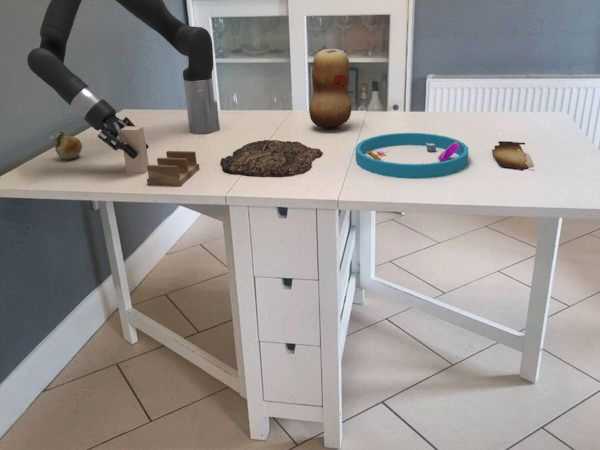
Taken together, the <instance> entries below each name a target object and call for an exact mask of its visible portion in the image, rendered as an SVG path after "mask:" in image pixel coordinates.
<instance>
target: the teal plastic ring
mask: <svg viewBox="0 0 600 450" xmlns="http://www.w3.org/2000/svg"><path fill="white" fill-rule="evenodd" d="M395 146H423V147H426V149H427V151H428V152H430V153H432V152H433V153H434V152H435V151H436V150H437V149H443V150H444V151H442V152H440V154H439V155H438V156H437V159H438V160H439V161H436V162H431V163H400V162H397V163H396V162H390V161H386V160H385V158H383V157H385V156H387V153H388V151H376V154H375V153H373V150H374V151H375V150H377V149H382V148H387V147H395ZM366 154H367V155H368V156H367V155H366ZM454 154H456V155H457V156H456V157H454V158H451V159H449V158H450V157H452V156H453V155H454ZM379 156H380V157H382V158H383V159H382V158H380V157H379ZM468 160H469V146H467V144H465V143H464V142H462V141H460V140H458V139H456V138H452V137H450V136H446V135H439V134H435V133H434V134H432V133H422V132H398V133H394V132H393V133H388V134H386V133H385V134H381V135H376V136H371V137H369V138H366V139H364V140H361V141H360V142H359V143H357V145H356V147H355V162H356V165H357V166H358V167H360V168H361V169H362V170H365V171H368V172H369V173H372V174H376V175H380V176H384V177H393V178H397V179H398V178H399V179H400V178H401V179H429V178H438V177H445V176H447V175H451V174H454V173H457V172H460V171H462V170H464V169H465V167H467V165H468Z"/></svg>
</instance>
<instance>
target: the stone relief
mask: <svg viewBox="0 0 600 450" xmlns="http://www.w3.org/2000/svg"><path fill="white" fill-rule="evenodd" d="M323 155H324V152H323V151H322V150H321V149H320V148H315V147H314V148H313V147H310V146H306V145H305V144H303V143H302V142H299V141H291V140H286V141H281V140H277V139H273V140H272V139H271V140H270V139H264V140H258V141H257V140H256V141H253V142H249V143H246V144H245V145H243V146H242V147H240V148H238V149H235V151H232V155H228V156H226V157H221V158H220V163H219V164H220V165H219V166H221V170H222V172H223V173H224V174H228V175H235V176H243V177H253V178H286V177H294V176H298V175H303V174H305V173H307V172H309V171H310V170H311V169H312V167H313V165H312V164H313V162H314V161H315V160H317V159H321V158H322V157H323Z"/></svg>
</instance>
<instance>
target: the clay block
mask: <svg viewBox="0 0 600 450" xmlns="http://www.w3.org/2000/svg"><path fill="white" fill-rule="evenodd" d="M120 131H121V132H122V133H123V135H124V139H125V140H126V142H127V144H129V145H130V146H132V147H133V148H134V149H135V150H136V151H137V152H138V155H137V156H136V158H134V159H132V158H131V157H130V156H129V155H128V154H126V153H125V152H124V151H123V150H122V151H123V157H124V164H125V168H126V173H127V174H143V175H144V174H146V173H148V170H147V166H148V165H150V164H149V155H148V149H146V144H147V143H146V136H145V130H144V126H136V127H132V126H126V127H124V128H122V129H120Z"/></svg>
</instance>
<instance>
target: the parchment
mask: <svg viewBox="0 0 600 450" xmlns="http://www.w3.org/2000/svg"><path fill="white" fill-rule="evenodd" d="M497 144H498V145H494V148H493V149H492V150H491V151H492V156H493V158H494V159H495V160H496V162H497V163H498V165H499V166H500V167H501V168H512V169H514V168H515V169H519V170H520V171H522V172H523V171H526V170H529V169H530V168H531V169H532V168H534V167H535V164H534V162H533V159H532V157H531V155H530V154H529V153H527V152H524V150H523V148H522V146H521V145H523V146H524V145H526V143H525V142H516V141H506V140H505V141H504V140H503V141H502V140H501V141H498V142H497Z"/></svg>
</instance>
